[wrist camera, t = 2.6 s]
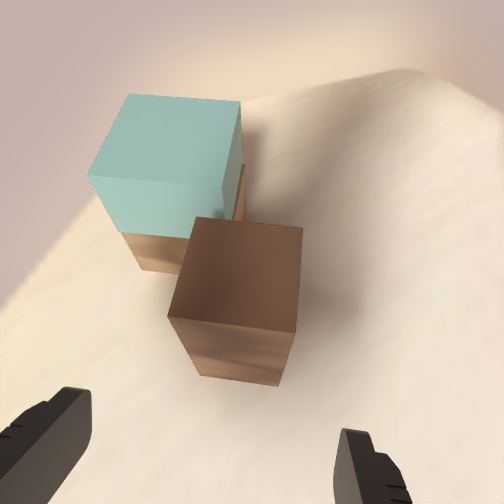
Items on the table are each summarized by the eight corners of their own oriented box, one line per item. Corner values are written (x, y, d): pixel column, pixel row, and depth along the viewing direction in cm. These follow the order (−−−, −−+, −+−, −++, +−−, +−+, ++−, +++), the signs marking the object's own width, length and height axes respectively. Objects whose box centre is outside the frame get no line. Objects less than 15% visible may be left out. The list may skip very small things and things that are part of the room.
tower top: (242, 163, 25) (240, 101, 21) (227, 242, 21) (221, 186, 17) (149, 155, 25) (128, 93, 21) (118, 232, 22) (86, 175, 18)
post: (284, 312, 24) (303, 228, 16) (278, 386, 21) (295, 333, 13) (215, 303, 24) (195, 216, 16) (200, 375, 22) (167, 316, 13)
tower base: (246, 208, 29) (245, 164, 25) (233, 280, 25) (229, 243, 21) (166, 200, 30) (152, 156, 25) (142, 270, 26) (121, 232, 22)
